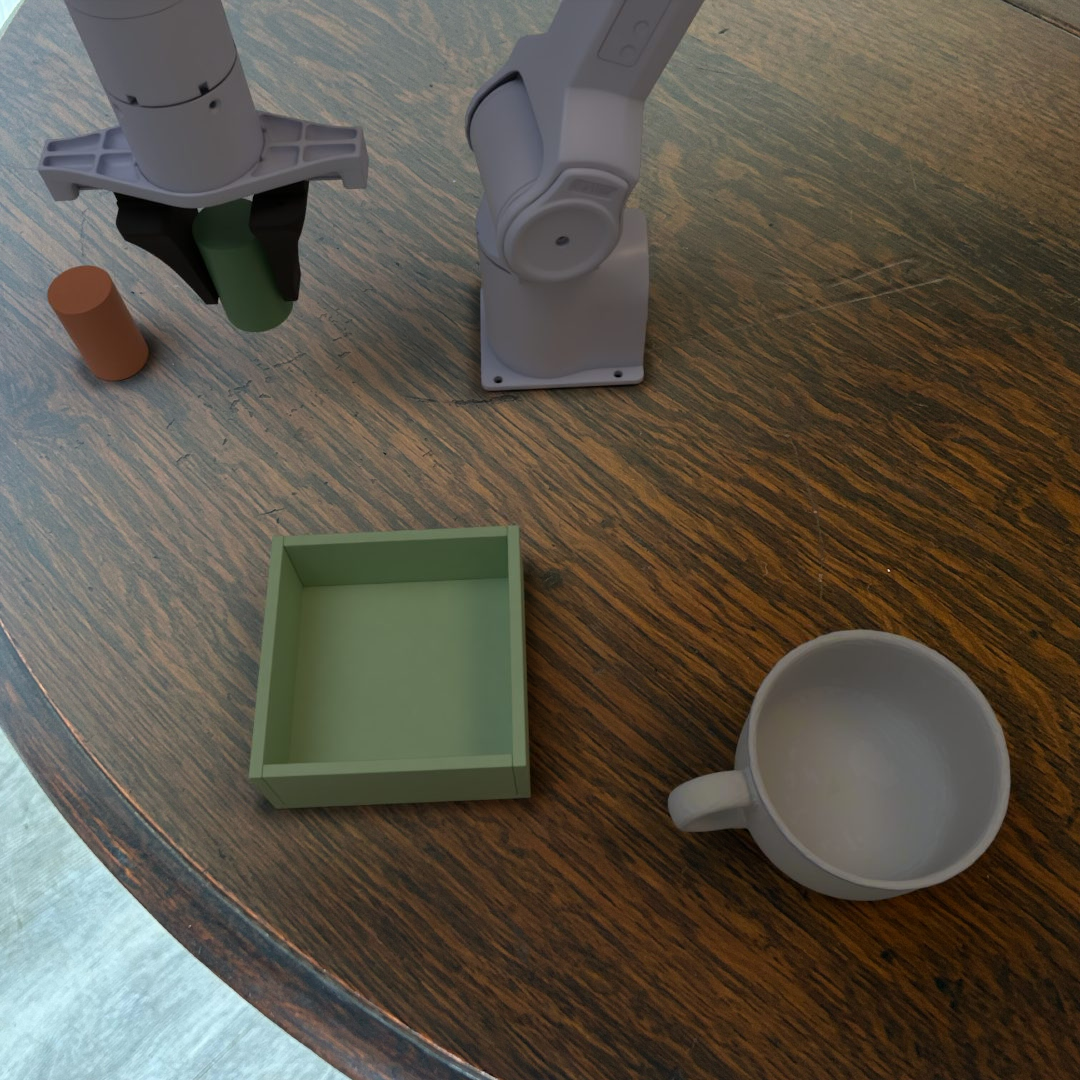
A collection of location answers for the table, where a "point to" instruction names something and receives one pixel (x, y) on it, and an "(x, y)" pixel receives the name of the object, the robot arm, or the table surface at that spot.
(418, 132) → the table surface
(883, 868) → the teacup
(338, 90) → the table surface
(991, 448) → the table surface
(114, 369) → the terracotta peg
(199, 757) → the table surface
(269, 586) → the green bin
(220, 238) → the green peg
